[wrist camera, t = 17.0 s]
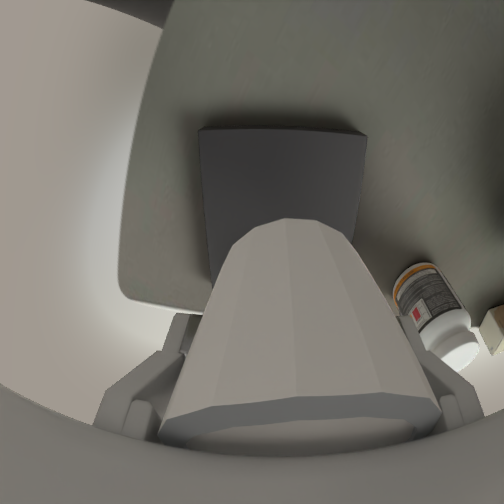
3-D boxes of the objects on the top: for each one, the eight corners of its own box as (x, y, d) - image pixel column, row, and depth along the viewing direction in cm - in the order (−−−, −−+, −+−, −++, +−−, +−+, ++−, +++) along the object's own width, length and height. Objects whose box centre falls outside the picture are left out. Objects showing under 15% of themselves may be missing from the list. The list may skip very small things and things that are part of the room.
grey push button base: (203, 126, 18) (190, 134, 15) (360, 131, 18) (377, 141, 15) (217, 293, 26) (210, 320, 23) (334, 295, 26) (341, 322, 23)
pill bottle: (381, 300, 26) (410, 384, 18) (408, 253, 23) (455, 336, 15) (422, 307, 26) (454, 381, 18) (448, 265, 23) (495, 338, 15)
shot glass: (171, 255, 11) (98, 420, 5) (335, 166, 9) (442, 338, 3) (261, 353, 14) (254, 487, 8) (392, 302, 12) (440, 445, 6)
